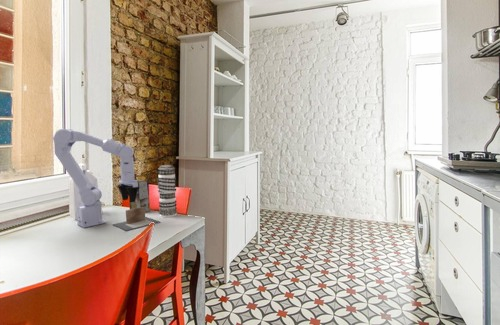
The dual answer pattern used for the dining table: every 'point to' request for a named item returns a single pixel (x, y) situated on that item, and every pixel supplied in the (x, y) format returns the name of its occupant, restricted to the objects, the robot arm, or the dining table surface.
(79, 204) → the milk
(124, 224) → the charcoal mat
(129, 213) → the walnut slab
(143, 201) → the coffee box
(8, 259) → the dining table surface
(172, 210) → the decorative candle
